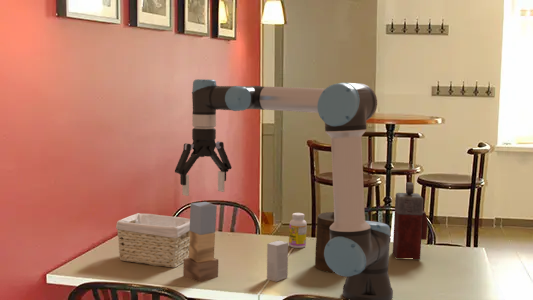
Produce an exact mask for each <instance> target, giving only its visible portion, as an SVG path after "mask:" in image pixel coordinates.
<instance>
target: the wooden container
mask: <svg viewBox="0 0 533 300" xmlns="http://www.w3.org/2000/svg"><path fill="white" fill-rule="evenodd" d="M333 223H334V211H328V212H327V211H326V212H322V213H319V214H318V215H317V220H316V225H317V226H316V239H315V253H314V254H315V258H314V267H315V268H316V269H317V270H319V271H322V270H323V271H322V272H326V271H328V272H327V273H332V272H333V271H332V269H330V268H329V266H328V265H327V263H326V261H325V257H324V249H325V246H326V244H327V243H328V242H329V240H330V226H331V225H332V224H333Z"/></svg>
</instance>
